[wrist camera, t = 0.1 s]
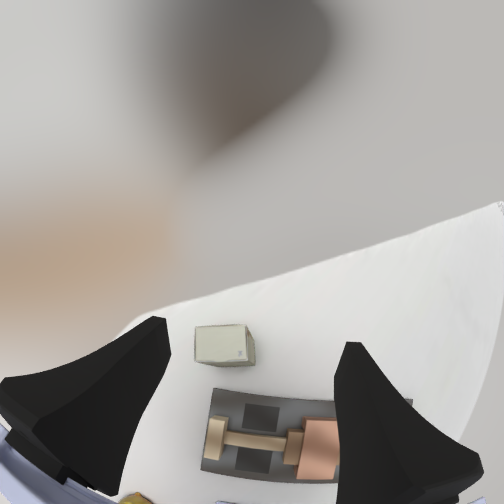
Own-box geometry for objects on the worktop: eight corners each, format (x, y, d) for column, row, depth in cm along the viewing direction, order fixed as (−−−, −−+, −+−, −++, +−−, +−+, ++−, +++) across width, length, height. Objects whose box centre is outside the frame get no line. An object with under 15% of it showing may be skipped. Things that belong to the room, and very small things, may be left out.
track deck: (395, 474, 29) (411, 483, 23) (202, 467, 32) (193, 478, 27) (408, 399, 35) (427, 399, 29) (215, 388, 38) (206, 389, 33)
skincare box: (254, 338, 41) (249, 322, 30) (255, 366, 39) (251, 360, 29) (213, 340, 42) (193, 325, 31) (213, 367, 40) (193, 362, 29)
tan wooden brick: (341, 462, 30) (348, 469, 26) (209, 450, 32) (203, 457, 28) (348, 427, 32) (356, 431, 29) (215, 415, 34) (209, 418, 31)
